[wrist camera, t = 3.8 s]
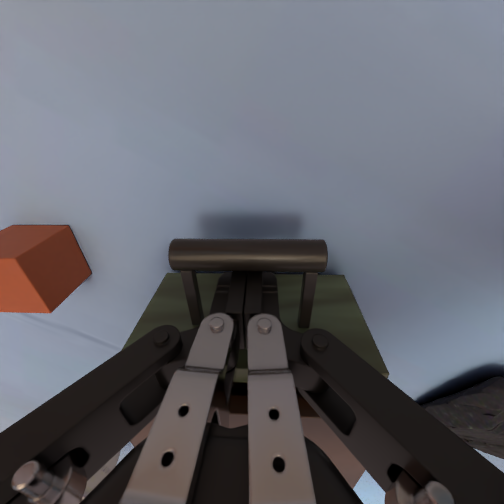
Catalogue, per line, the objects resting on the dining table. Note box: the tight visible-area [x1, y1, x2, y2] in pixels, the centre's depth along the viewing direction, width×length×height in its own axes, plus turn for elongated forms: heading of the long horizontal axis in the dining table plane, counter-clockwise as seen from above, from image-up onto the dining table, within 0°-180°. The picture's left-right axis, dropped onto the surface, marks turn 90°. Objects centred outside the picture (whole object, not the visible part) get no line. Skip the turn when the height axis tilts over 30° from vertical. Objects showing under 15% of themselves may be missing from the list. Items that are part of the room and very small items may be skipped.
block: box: [0, 225, 91, 313], centre depth 16 cm, size 4×4×4 cm
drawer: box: [121, 239, 389, 398], centre depth 17 cm, size 20×13×7 cm, turn 1°
